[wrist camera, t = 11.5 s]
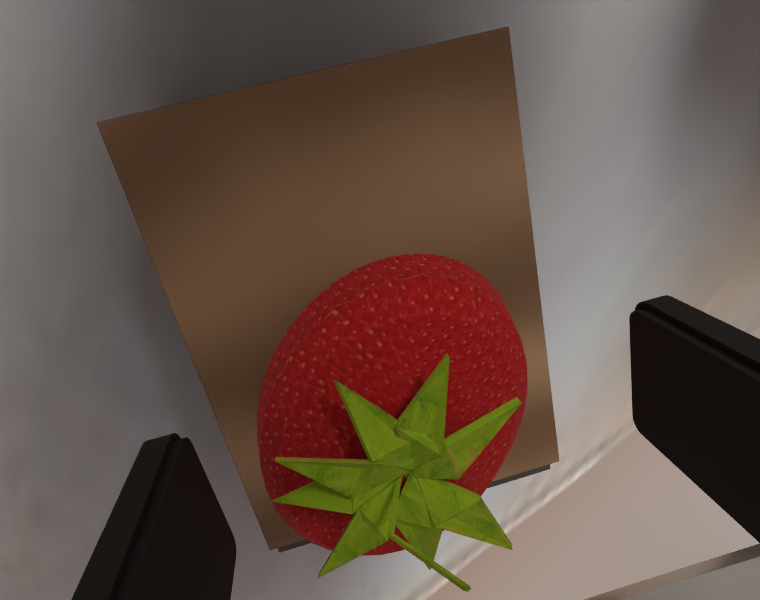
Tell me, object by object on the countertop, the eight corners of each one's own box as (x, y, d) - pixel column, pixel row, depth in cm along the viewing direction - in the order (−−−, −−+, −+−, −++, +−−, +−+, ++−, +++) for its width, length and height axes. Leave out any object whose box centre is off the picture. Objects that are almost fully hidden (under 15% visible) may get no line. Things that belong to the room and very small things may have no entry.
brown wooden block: (153, 124, 19) (96, 122, 14) (448, 54, 20) (508, 26, 15) (281, 474, 25) (278, 572, 20) (504, 408, 26) (561, 484, 21)
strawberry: (495, 258, 17) (724, 421, 7) (396, 440, 18) (478, 759, 9) (332, 182, 15) (356, 259, 6) (243, 386, 17) (150, 698, 8)
